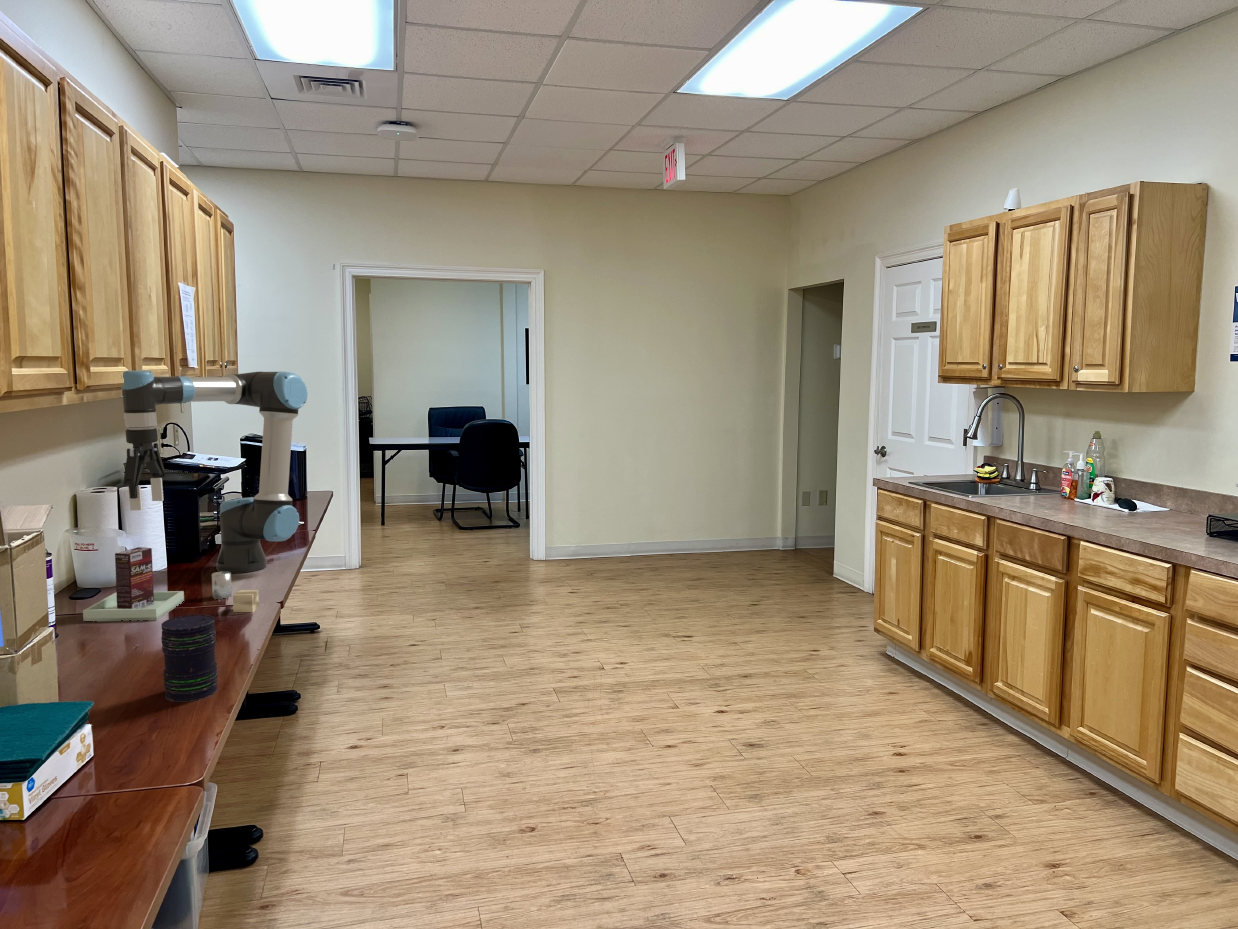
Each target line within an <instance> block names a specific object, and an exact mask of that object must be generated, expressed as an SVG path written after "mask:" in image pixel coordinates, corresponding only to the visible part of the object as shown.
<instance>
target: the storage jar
mask: <svg viewBox="0 0 1238 929" xmlns="http://www.w3.org/2000/svg"><path fill="white" fill-rule="evenodd" d="M215 622H216V621H215V617H214V616H212V615H208V614H190V615H181V616H177V617H173V618H169V619H167V620H164V621H163V622H162V623H161V626H160V627H161V630H162V631H161V645H162V647H161V650H162V652H163V656H164V659H163V660H164V669H163V671H162V672H163V675H162V676H163V686H164V691H165V692H164V698H165V699H166V700H167V701H170V702H177V703H183V702H187V703H188V702H195V701H200V700H202V699H206V698H208V697H212V696H213V695H215V693H217V692H218V688H219V687H218V685H217V683H218V677H219V676H218V663H217V662H216V652H215V647H216V645H217V640H216V637H217V632H216V625H215Z"/></svg>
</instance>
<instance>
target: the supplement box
mask: <svg viewBox="0 0 1238 929" xmlns="http://www.w3.org/2000/svg"><path fill="white" fill-rule="evenodd" d="M152 550H153V548H151V547H142V546H141V547H139V546H138V547H134V548H131V549H127V550H124V551H123V550H122V551H120V552H119V551H118V552H115V553H114V561H115V564H114V566H115V586H116V587H115V588H116V589H115V590H116V592H115V593H117V609H142V608H145V607H147V606H150V605H153V604H154V592H155V591H154V574H153V573H154V572H153V551H152Z"/></svg>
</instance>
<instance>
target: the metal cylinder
mask: <svg viewBox="0 0 1238 929" xmlns="http://www.w3.org/2000/svg"><path fill="white" fill-rule="evenodd" d="M211 586H212V587H211V588H212V589H211V590H212V599H213V598H214V599H213V600H216V599H221V600H224V599H223V598H228V599H230V598H229V597H231V596H232V597H233V593H232V591H233V590H232V588H233V587H232V573H231V572H228V571H222V572H219V571H217V572H213V573H211ZM232 597H231V598H232Z"/></svg>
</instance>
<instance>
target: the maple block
mask: <svg viewBox="0 0 1238 929" xmlns="http://www.w3.org/2000/svg"><path fill="white" fill-rule="evenodd" d="M259 599H260V598H259V590H258V589H252V590H248V589H246V590H245V589H244V590H243V589H241V590H238V591H236V592H235V593H233V594H232V602H233V605H232V608H233V613H234V612H253V613H254V612H256V611H257V610H258V609H259V608H260V604H259V603H260V602H259ZM258 607H259V608H258ZM257 608H258V609H257ZM256 609H257V610H256Z"/></svg>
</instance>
